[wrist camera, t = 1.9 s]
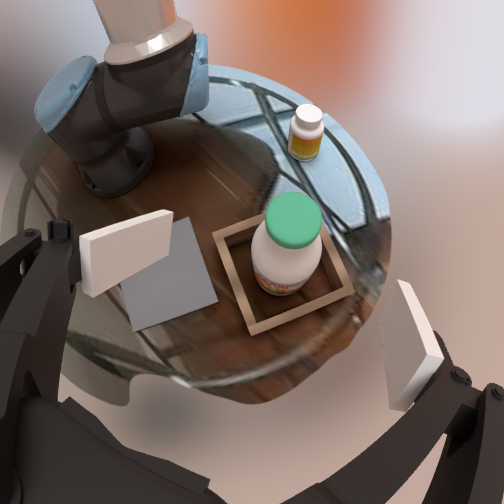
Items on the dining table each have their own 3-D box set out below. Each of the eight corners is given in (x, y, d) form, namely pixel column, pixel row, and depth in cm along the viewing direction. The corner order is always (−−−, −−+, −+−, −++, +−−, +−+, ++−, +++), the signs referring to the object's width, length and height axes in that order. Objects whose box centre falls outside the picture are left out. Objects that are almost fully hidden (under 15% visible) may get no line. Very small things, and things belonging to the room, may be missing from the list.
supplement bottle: (323, 158, 46) (333, 122, 37) (294, 165, 46) (300, 129, 36) (310, 135, 47) (317, 98, 38) (282, 142, 47) (285, 104, 38)
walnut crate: (217, 244, 43) (212, 232, 38) (305, 210, 43) (310, 196, 39) (252, 335, 39) (251, 335, 34) (344, 296, 40) (355, 291, 35)
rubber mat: (114, 250, 43) (112, 249, 43) (189, 217, 44) (188, 216, 43) (135, 332, 39) (133, 331, 39) (218, 301, 40) (218, 301, 40)
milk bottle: (251, 248, 42) (239, 180, 23) (302, 241, 42) (329, 169, 23) (258, 300, 40) (251, 271, 21) (311, 292, 40) (352, 256, 21)
